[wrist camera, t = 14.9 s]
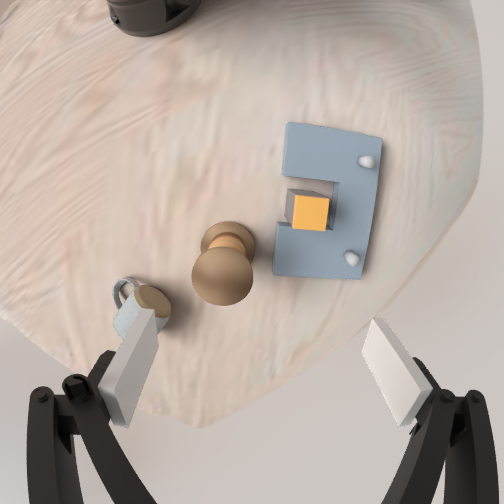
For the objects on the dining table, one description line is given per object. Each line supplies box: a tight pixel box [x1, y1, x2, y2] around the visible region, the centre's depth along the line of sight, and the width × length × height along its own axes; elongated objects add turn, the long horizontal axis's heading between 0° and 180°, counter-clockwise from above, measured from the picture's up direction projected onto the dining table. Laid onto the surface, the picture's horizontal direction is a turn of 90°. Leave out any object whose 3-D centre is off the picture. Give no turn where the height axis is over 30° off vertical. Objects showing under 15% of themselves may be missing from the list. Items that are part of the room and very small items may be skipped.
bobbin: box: [192, 222, 255, 306], centre depth 37 cm, size 8×8×12 cm
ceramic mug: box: [112, 278, 172, 340], centre depth 42 cm, size 11×8×8 cm
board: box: [272, 122, 382, 280], centre depth 38 cm, size 22×14×6 cm, turn 175°
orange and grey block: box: [285, 189, 329, 231], centre depth 37 cm, size 4×4×8 cm
